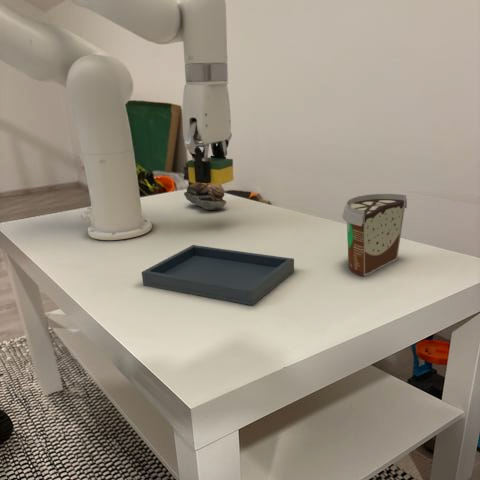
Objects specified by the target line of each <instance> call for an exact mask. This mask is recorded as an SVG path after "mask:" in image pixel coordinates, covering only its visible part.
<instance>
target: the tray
mask: <svg viewBox="0 0 480 480" xmlns="http://www.w3.org/2000/svg"><path fill="white" fill-rule="evenodd" d="M294 272H295V258H294V257H293V258H292V257H284V256H277V255H270V254H262V253H255V252H247V251H239V250H234V249H233V250H232V249H227V248H226V249H225V248H218V247H211V246H205V245H204V246H203V245H196V244H191V245H190V246H188V247H187V248H184V249H182V250H181V251H178V252H177V253H175V254H173V255H171V256H169V257H167V258H165V259H163V260H162V261H160V262H158V263H156V264H153V265H152V266H151V267H148V268H146V269H144V270H143V271H141V278H142V285H143V286H147V287H153V288H157V289H163V290H168V291H173V292H178V293H183V294H188V295H194V296H199V297H204V298H210V299H215V300H221V301H226V302H231V303H235V304H236V303H237V304H241V305H248V306H254V305H255V304H256V303H258V302H259V301H260V300H262V298H263V297H265V296H266V295H267V294H269V293H270V292H271V291H272V290H274V289H275V288H276V287H277V286H278V285H279V284H281V283H282V282H283V281H284V280H286V279H287V278H288V277H289V276H291V275H292V274H293V273H294Z"/></svg>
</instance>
